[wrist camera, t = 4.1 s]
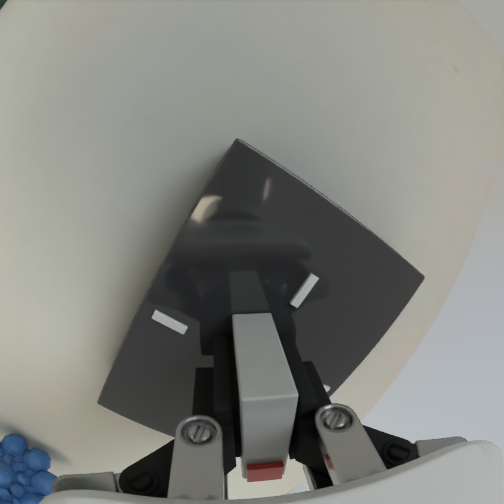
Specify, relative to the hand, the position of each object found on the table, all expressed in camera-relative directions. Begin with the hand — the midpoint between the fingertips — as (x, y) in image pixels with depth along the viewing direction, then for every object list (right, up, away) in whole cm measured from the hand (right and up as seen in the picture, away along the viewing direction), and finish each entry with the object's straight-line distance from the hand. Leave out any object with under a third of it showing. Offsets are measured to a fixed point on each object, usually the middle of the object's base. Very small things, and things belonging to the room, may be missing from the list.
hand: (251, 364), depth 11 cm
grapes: (-24, -15, +6) cm, 28 cm away
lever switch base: (0, +1, +3) cm, 3 cm away
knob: (0, 0, 0) cm, 0 cm away
